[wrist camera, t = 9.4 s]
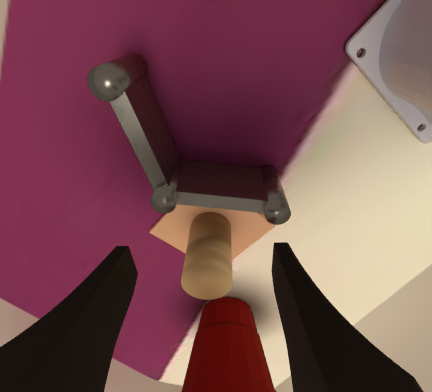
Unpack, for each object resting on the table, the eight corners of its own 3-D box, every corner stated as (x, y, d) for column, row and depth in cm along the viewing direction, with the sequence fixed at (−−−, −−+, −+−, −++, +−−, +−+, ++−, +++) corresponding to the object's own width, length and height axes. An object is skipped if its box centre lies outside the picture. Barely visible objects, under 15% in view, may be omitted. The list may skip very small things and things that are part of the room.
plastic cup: (248, 344, 35) (257, 471, 26) (171, 323, 33) (148, 454, 23) (293, 298, 30) (326, 439, 20) (203, 270, 28) (190, 413, 18)
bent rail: (281, 173, 21) (296, 213, 17) (234, 215, 24) (236, 260, 19) (130, 47, 16) (96, 58, 12) (91, 116, 19) (51, 145, 15)
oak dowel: (229, 210, 23) (230, 264, 18) (232, 241, 25) (233, 298, 20) (187, 213, 23) (176, 267, 18) (193, 243, 25) (185, 300, 20)
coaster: (274, 222, 24) (275, 225, 23) (216, 267, 27) (216, 271, 27) (204, 170, 21) (203, 173, 21) (150, 228, 25) (149, 232, 24)
